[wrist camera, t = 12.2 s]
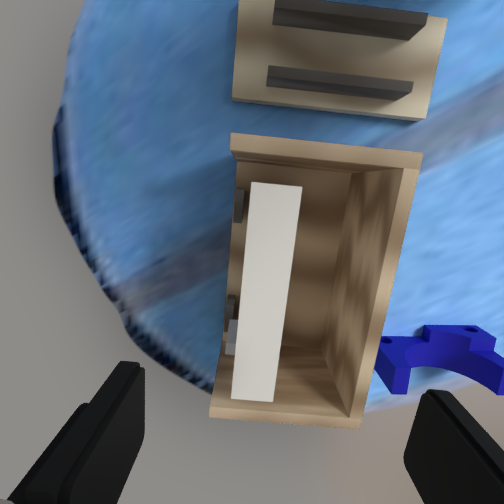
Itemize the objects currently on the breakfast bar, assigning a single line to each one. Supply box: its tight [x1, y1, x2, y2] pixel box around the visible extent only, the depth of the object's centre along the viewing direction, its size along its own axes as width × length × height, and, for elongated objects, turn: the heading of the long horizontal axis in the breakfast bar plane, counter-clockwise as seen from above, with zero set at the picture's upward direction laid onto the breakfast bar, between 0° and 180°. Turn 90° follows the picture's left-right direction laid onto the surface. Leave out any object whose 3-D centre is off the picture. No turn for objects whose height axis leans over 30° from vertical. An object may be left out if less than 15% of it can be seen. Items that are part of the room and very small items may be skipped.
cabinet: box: [209, 132, 424, 429], centre depth 25 cm, size 21×12×11 cm, turn 174°
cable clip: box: [374, 325, 504, 395], centre depth 30 cm, size 12×4×6 cm, turn 89°
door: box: [225, 182, 302, 402], centre depth 24 cm, size 15×4×11 cm, turn 174°
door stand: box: [232, 0, 448, 121], centre depth 24 cm, size 8×18×4 cm, turn 84°
